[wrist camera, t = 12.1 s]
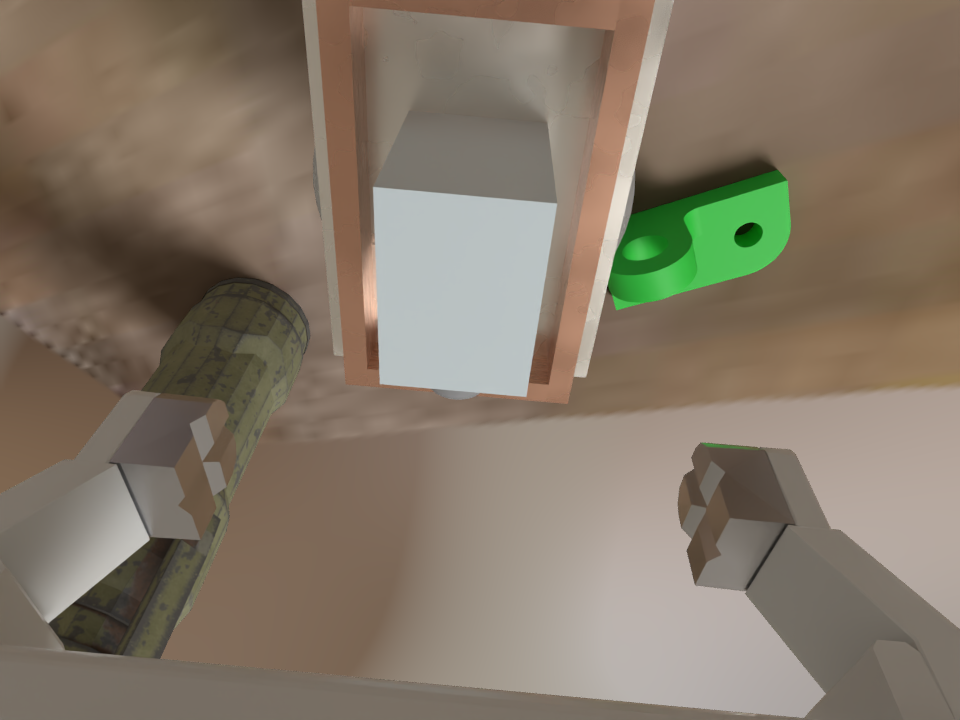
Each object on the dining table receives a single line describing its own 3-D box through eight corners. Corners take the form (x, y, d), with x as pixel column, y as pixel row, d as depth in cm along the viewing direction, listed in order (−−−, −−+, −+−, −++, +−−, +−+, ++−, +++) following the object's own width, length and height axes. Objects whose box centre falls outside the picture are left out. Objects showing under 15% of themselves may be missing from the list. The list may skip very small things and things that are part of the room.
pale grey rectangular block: (547, 123, 22) (557, 203, 17) (519, 327, 28) (519, 438, 22) (409, 110, 22) (372, 187, 17) (408, 317, 28) (381, 426, 22)
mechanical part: (612, 295, 46) (628, 361, 40) (593, 225, 43) (606, 285, 36) (783, 248, 43) (829, 311, 37) (776, 168, 40) (825, 223, 33)
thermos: (161, 317, 49) (-297, 881, 21) (269, 247, 45) (-132, 841, 17) (243, 390, 53) (-51, 936, 26) (347, 333, 49) (129, 915, 22)
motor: (650, -52, 33) (759, 4, 18) (593, 226, 42) (633, 409, 28) (348, -80, 32) (208, -47, 18) (361, 205, 42) (279, 378, 28)
